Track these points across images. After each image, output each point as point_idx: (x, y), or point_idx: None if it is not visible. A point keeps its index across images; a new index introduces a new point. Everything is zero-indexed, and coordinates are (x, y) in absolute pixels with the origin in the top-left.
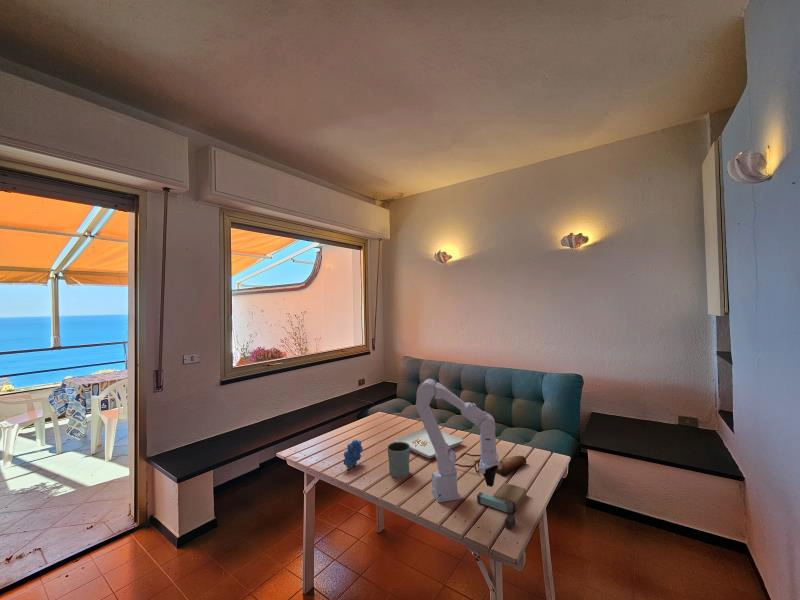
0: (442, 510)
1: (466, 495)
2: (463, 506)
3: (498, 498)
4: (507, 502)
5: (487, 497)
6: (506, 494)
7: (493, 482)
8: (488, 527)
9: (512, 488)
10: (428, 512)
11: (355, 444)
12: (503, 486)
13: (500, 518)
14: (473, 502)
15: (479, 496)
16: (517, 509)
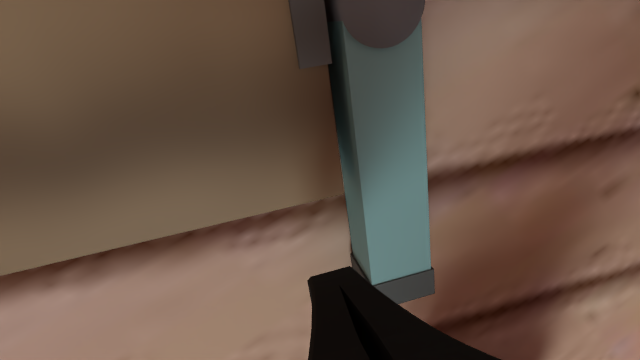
0: (580, 327)
1: None
2: (489, 287)
3: (356, 141)
4: (381, 20)
5: (407, 221)
6: (205, 128)
7: (338, 292)
8: (617, 37)
9: (7, 147)
10: (622, 352)
11: None
12: (71, 244)
13: (481, 21)
14: None
15: (433, 273)
16: None
